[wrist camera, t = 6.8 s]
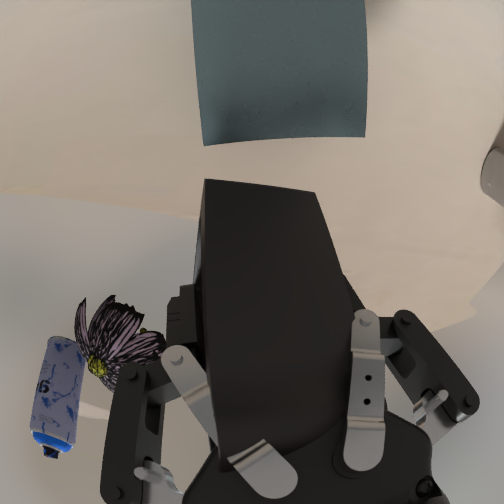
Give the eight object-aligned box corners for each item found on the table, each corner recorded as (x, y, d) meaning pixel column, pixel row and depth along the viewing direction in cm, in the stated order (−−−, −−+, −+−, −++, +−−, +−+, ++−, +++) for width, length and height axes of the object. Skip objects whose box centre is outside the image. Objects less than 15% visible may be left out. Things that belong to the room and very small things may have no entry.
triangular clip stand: (204, 175, 13) (244, 441, 4) (313, 190, 15) (455, 377, 5) (190, 303, 18) (208, 485, 9) (273, 305, 20) (327, 464, 10)
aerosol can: (63, 331, 33) (39, 449, 18) (96, 357, 38) (86, 467, 22) (40, 342, 34) (18, 445, 18) (71, 365, 39) (59, 463, 23)
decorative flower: (89, 325, 21) (176, 421, 26) (147, 263, 31) (206, 353, 36) (37, 334, 25) (105, 410, 31) (85, 287, 36) (137, 359, 41)
